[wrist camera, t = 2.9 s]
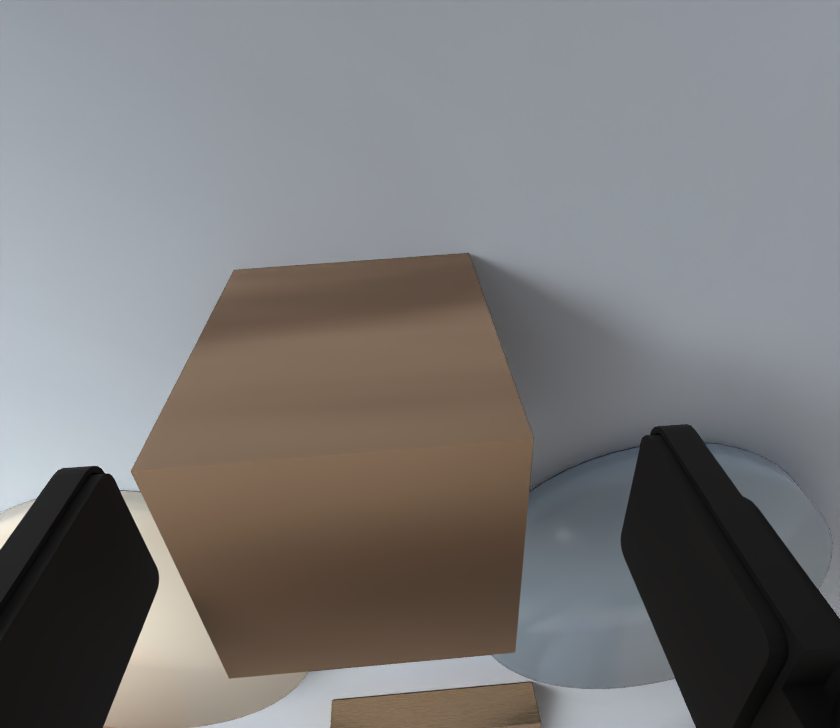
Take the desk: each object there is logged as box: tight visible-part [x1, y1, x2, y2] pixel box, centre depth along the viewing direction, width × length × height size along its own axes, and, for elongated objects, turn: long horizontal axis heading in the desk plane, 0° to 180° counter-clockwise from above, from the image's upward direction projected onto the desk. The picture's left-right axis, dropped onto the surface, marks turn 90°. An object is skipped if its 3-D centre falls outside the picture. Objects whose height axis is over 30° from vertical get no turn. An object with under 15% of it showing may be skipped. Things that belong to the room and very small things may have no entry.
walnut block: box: [131, 253, 534, 679], centre depth 11 cm, size 5×5×6 cm
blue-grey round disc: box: [492, 443, 832, 689], centre depth 18 cm, size 11×11×1 cm
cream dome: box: [0, 491, 308, 728], centre depth 18 cm, size 11×11×1 cm
